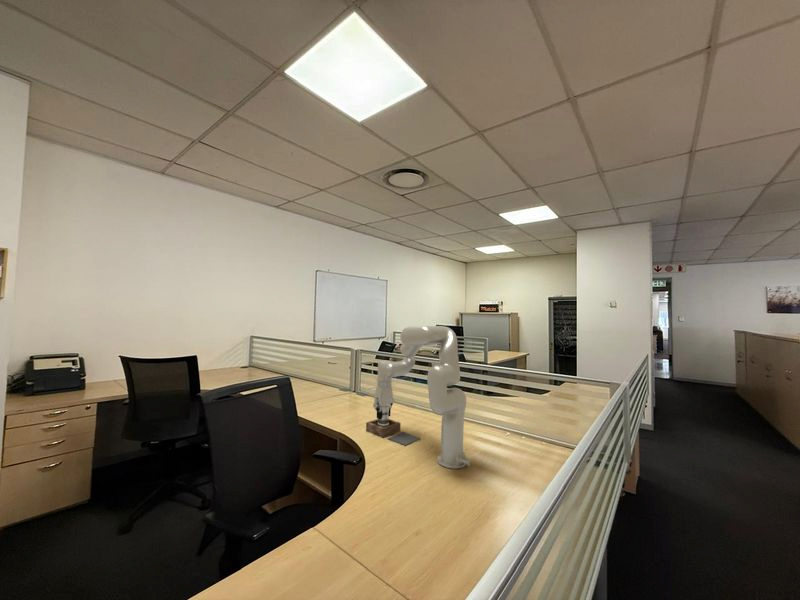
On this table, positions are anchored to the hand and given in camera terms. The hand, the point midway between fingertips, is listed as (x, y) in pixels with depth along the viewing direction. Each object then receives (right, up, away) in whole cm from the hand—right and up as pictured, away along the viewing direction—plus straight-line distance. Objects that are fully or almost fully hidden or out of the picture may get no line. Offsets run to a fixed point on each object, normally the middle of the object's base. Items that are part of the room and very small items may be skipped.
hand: (383, 416), depth 175 cm
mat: (+11, -8, -10) cm, 17 cm away
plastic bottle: (0, -8, 0) cm, 8 cm away
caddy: (0, -8, 0) cm, 8 cm away
